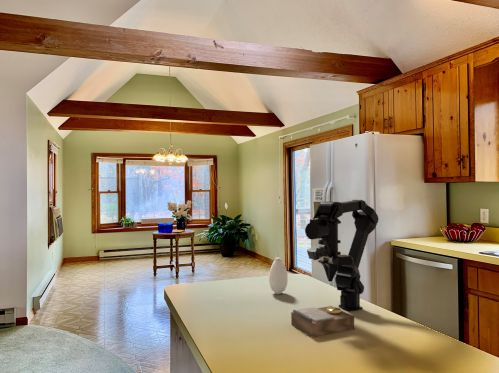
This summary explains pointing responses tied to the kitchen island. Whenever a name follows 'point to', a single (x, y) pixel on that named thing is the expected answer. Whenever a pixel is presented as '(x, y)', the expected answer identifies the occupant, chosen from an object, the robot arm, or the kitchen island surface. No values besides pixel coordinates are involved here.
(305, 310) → the steel flap
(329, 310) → the gold metal dome
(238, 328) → the kitchen island surface
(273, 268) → the sauce bottle
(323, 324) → the brown box
